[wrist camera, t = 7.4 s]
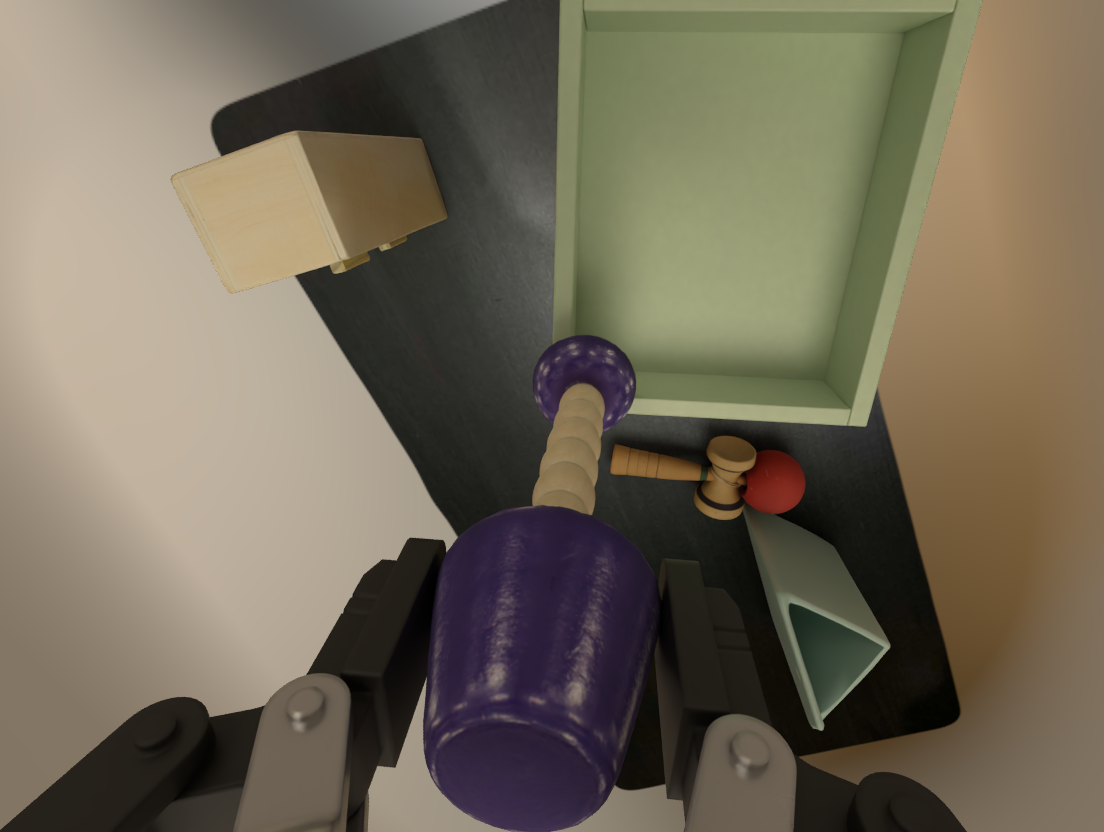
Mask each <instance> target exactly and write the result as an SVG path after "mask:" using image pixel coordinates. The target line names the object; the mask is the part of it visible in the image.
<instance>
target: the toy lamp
mask: <svg viewBox="0 0 1104 832" xmlns="http://www.w3.org/2000/svg"><path fill="white" fill-rule="evenodd" d="M533 392H534V396H535V399H536V402H537V405H538V407H539V409H540V411H541V412H542V414H543V415H544V416H545V417H546V418H547V420H548V421H549V422H550V423H552V424H553V430H552V431H551V433H550V435H549V438H548V442H547V451H546V452H545V454H544V456H543V458H542V461H541V465H540V477H539V479H538V481H537V483H536V485H535V488H534V492H533V499H532V500H533V506H526V507H522V508H508V509H504V510H501V511H499V512H497V513H495V514H493V515H491V516H489V517H486V518H483V519H482V520H481V521H479V522H478V523H476V524H475V525H472V526H471V527H470V528H469V529H467V530H466V531H465V532H464V533H463V534H461V535H460V536H459V537H458V538H457V539H456V541H455V542H454V543H453V545H452V546H451V548H450V549H449V550H448V551H447V553H446V555H445V558H444V560H443V562H442V564H441V567H440V570H439V573H438V576H437V580H436V585H435V591H434V598H433V608H432V618H431V627H430V642H429V655H428V667H427V683H426V698H425V710H424V719H423V731H424V732H423V734H424V735H423V737H424V738H423V740H424V754H425V759H426V764H427V767H428V769H429V772H430V775H431V777H432V779H433V781H434V783H435V784H436V786H437V787H438V789H439V790H440V791H441V792H442V794H444V795H445V796H446V797H447V799H448V800H449V801H450V802H452V804H453V805H455V806H456V807H457V808H459V809H460V810H461V811H463V812H464V813H466V814H468V815H470V816H471V817H473V818H474V819H476V820H479V821H481V822H484V823H486V824H489V825H491V826H494V827H497V828H501V829H505V830H508V831H513V832H551V831H557V830H562V829H566V828H569V827H573V826H576V825H578V824H579V823H581V822H583V821H584V820H586V819H587V818H588V817H590V816H591V815H593V814H594V813H595V812H596V811H597V810H599V808H600V807H601V806H602V805H603V804H604V803H605V801H606V800H607V798H608V796H609V795H610V793H611V791H612V789H613V787H614V785H615V783H616V781H617V779H618V776H619V774H620V771H621V768H622V765H623V762H624V759H625V755H626V752H627V748H628V745H629V741H630V738H631V735H632V732H633V728H634V724H635V720H636V717H637V714H638V710H639V707H640V703H641V700H642V696H643V693H644V689H645V686H646V682H647V678H648V674H649V670H650V666H651V663H652V660H653V656H654V652H655V648H656V644H657V640H658V636H659V630H660V623H661V612H662V610H661V596H660V591H659V587H658V583H657V580H656V578H655V575H654V573H653V570H652V569H651V568H650V566H649V563H648V562H647V560H646V559H645V557H644V556H643V554H642V552H641V551H640V550H639V549H638V548H637V547H636V546H635V545H634V544H633V543H632V542H631V541H630V540H629V539H627V538H626V537H625V536H624V535H623V534H622V533H621V532H620V531H618V530H616V529H615V528H614V527H612V526H611V525H609V524H607V523H605V522H603V521H601V520H600V519H598V518H596V517H595V516H593V515H592V512H593V509H594V505H595V491H594V486H595V484H596V481H597V476H598V463H597V461H598V459H599V456H600V451H601V440H600V437H601V435H602V432H604V431H607V430H609V429H611V428H612V427H613V426H615V425H616V424H617V423H618V422H620V421H621V420H622V419H623V418H624V416H625V415H626V414H627V412H628V411H629V409H630V408H631V406H632V403H633V401H634V397H635V392H636V376H635V372H634V369H633V366H632V364H631V362H630V360H629V359H628V357H627V355H626V354H625V353H624V352H623V351H622V350H621V349H620V348H619V347H618V346H616V345H615V344H613V343H611V342H610V341H608V340H606V339H603V338H601V337H598V336H592V335H576V336H571V337H568V338H565V339H562V340H559V341H557V342H556V343H554V344H553V345H551V346H550V347H549V348H548V349H547V350H546V351H545V352H544V353H543V354H542V356H541V357H540V358H539V361H538V363H537V365H536V367H535V370H534V374H533Z"/></svg>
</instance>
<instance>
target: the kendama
mask: <svg viewBox="0 0 1104 832" xmlns="http://www.w3.org/2000/svg"><path fill="white" fill-rule="evenodd" d="M707 456H708V458H709V460H710V461H711V462H712V464H713V465H712V466H711V467H708V466H704V465H701V464H698V463H694V462H691V461H687V460H683V459H680V458H676V457H671V456H667V455H662V454H660V455H659V454H657V453H652V452H650V453H649V452H648V451H643V450H638V449H634V448H632V449H630V448H629V447H625V446H621V445H617V444H615V446H614V449H613V454H612V461H611V468H610V472H611V474H618V475H626V474H627V475H631V476H642V477H645V476H646V477H652V478H655V477H656V478H661V479H672V480H697V481H702V482H701V483H699V484H698V485H697V487H696V489H695V494H694V503H695V504H696V506H697V508H698V509H699V510H700V511H701V512H703V513H704V514H706V515H708V516H710V517H712V518H716V519H720V520H728V519H733V518H736V517H738V516H739V515H740V514H741V512H742V510H743V507H744V505H745V502H747V503H748V504H749V505H750V506H751V507H753V508H754V509H756V510H758V511H760V512H763V513H767V514H779V513H783V512H786V511H788V510H790V509H792V508H793V507H795V506H796V505H797V504H798V503H799V501H800V500H801V498H802V496H803V494H804V491H805V476H804V473H803V470H802V468H801V466H800V465H799V463H798V462H797V461H796V460H795V459H794V458H793V457H791V456H790V455H788V454H786V453H784V452H781V451H777V450H764V451H760V452H757V453H756V450H755V449H754V448H753V446H752V445H751V444H749V443H748V442H746V441H744V440H742V439H740V438H737V437H733V436H719V437H715V438H713V439H712V440H710V442H709V445H708V448H707Z"/></svg>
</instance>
